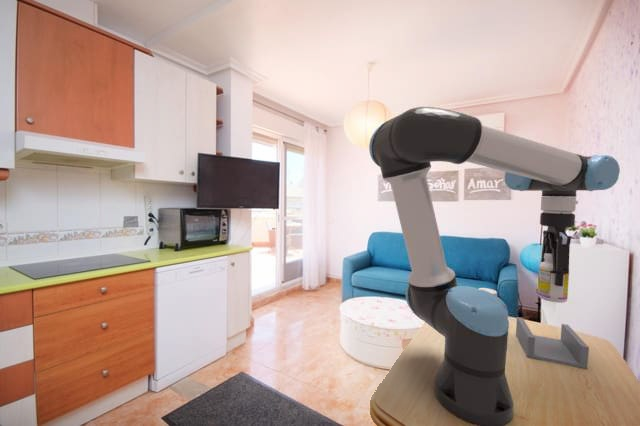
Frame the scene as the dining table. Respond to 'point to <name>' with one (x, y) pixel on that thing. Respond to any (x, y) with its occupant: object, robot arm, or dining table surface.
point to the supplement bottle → (549, 281)
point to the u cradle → (553, 346)
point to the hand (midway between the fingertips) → (551, 292)
